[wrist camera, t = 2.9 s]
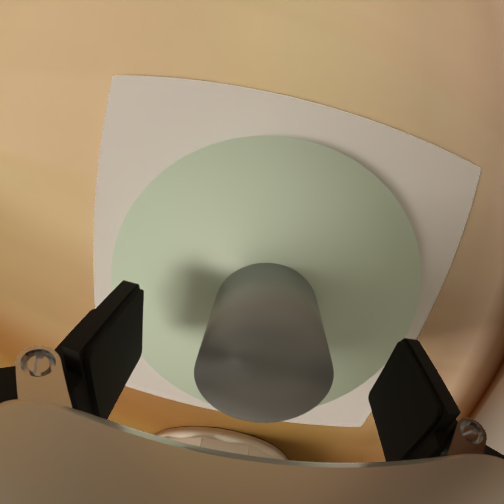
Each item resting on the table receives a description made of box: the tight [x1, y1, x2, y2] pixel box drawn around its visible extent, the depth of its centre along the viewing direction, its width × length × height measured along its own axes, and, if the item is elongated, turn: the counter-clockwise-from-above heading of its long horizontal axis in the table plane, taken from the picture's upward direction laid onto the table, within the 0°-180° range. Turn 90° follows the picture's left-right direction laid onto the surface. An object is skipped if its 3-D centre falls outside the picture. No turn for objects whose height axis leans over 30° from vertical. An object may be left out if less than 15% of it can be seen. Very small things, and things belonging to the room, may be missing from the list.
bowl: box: [155, 426, 288, 460], centre depth 16 cm, size 11×11×6 cm
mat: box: [93, 75, 481, 427], centre depth 13 cm, size 16×16×1 cm
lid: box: [111, 136, 421, 423], centre depth 10 cm, size 13×13×5 cm
